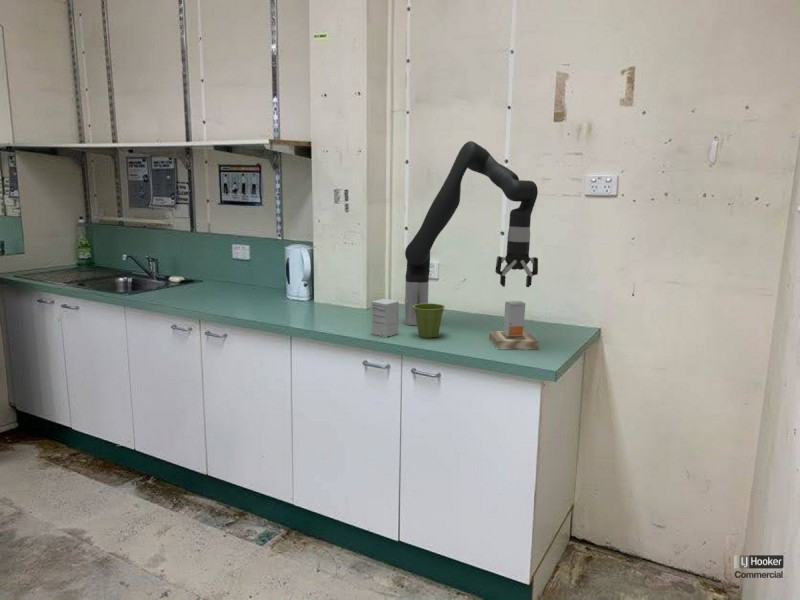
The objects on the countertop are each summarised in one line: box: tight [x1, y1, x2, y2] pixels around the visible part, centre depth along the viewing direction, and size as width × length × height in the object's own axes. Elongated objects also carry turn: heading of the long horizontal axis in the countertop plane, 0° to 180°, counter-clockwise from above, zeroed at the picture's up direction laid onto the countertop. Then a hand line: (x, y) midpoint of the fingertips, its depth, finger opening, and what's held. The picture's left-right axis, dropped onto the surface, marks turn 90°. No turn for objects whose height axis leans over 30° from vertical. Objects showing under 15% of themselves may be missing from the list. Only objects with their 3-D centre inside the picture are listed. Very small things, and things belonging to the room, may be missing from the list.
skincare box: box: [502, 300, 526, 337], centre depth 204 cm, size 6×4×12 cm
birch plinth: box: [488, 330, 539, 350], centre depth 206 cm, size 14×14×3 cm
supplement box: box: [371, 298, 400, 338], centre depth 215 cm, size 7×7×13 cm
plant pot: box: [413, 302, 446, 339], centre depth 214 cm, size 12×12×11 cm
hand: (515, 286), depth 202 cm, fingers open, 8 cm apart
